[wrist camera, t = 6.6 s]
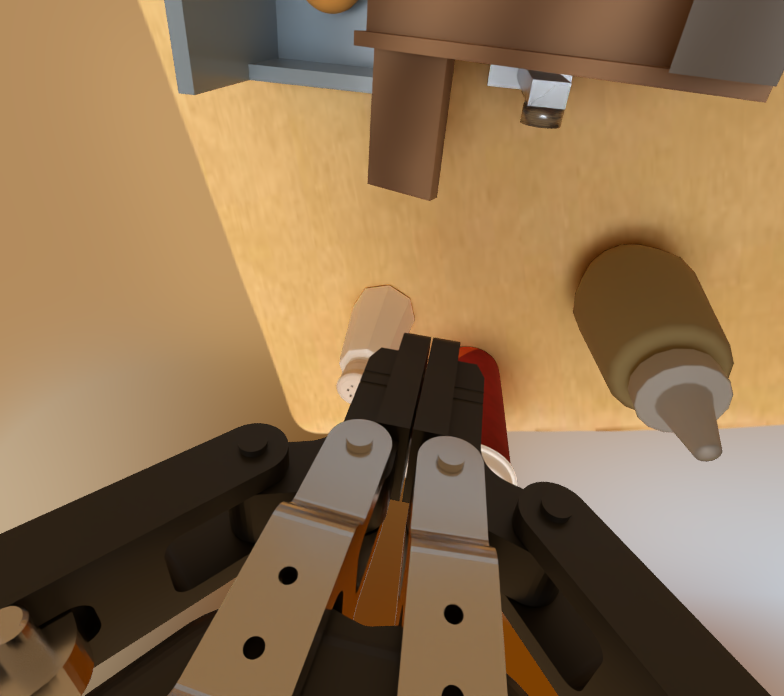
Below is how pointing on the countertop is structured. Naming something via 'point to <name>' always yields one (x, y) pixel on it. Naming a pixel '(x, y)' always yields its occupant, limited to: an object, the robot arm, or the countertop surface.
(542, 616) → the robot arm
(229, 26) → the cup
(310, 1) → the ball
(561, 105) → the pivot stand
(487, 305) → the countertop surface
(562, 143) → the countertop surface
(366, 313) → the salt shaker
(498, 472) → the paper cup
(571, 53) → the lever
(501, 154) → the countertop surface
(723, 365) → the squeeze bottle
